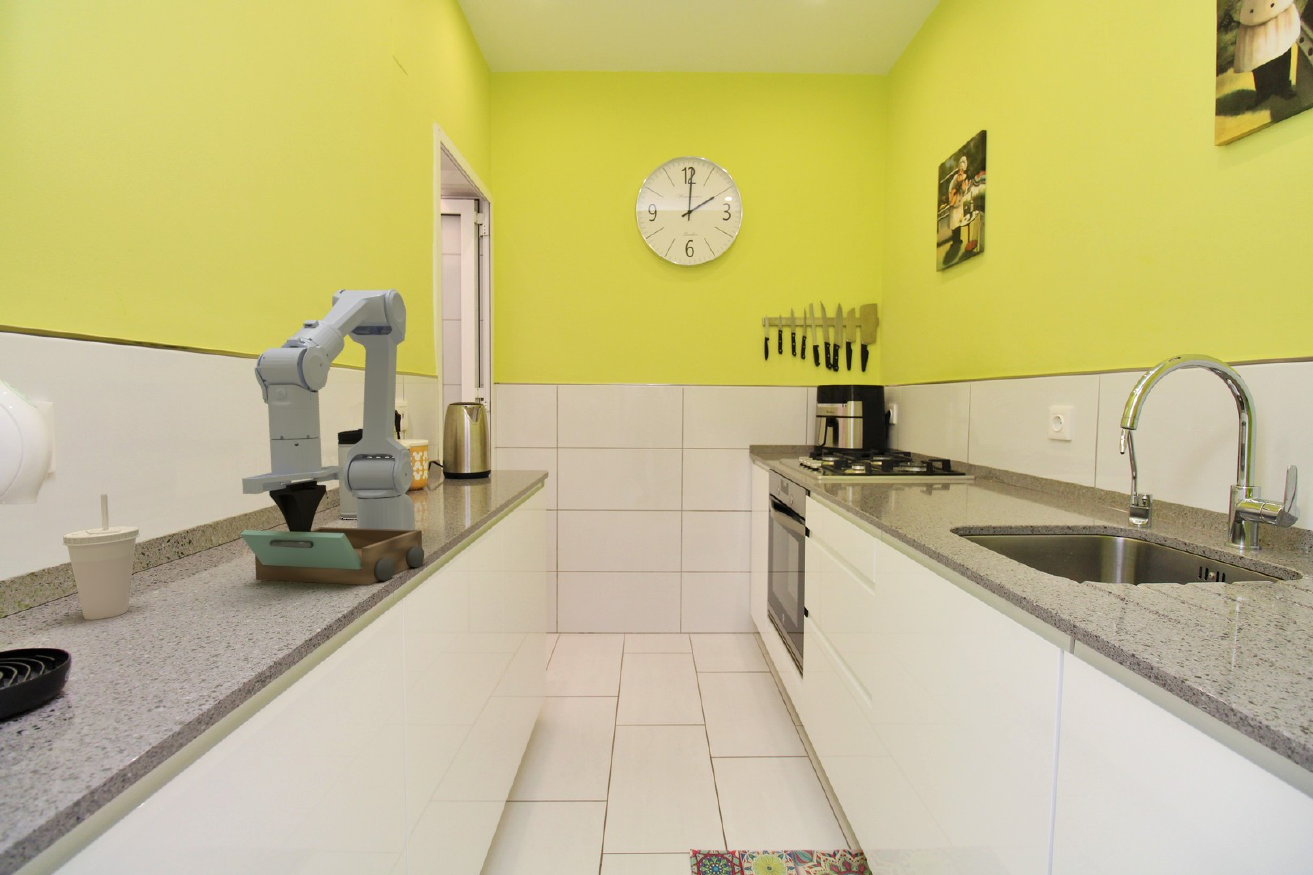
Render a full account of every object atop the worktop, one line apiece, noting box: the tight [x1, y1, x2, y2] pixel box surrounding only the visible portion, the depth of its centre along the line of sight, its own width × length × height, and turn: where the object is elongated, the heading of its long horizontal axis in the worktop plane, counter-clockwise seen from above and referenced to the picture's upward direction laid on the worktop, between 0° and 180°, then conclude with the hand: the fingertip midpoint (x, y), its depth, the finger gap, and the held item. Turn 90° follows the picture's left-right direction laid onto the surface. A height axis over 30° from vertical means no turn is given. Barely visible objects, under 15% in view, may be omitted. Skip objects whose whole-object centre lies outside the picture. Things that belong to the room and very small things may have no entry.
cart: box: [254, 526, 425, 586], centre depth 84 cm, size 12×20×5 cm, turn 79°
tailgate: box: [239, 529, 362, 570], centre depth 77 cm, size 2×15×6 cm
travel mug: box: [337, 428, 371, 518], centre depth 129 cm, size 6×7×20 cm
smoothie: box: [62, 493, 140, 621], centre depth 66 cm, size 6×6×14 cm
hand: (300, 539), depth 77 cm, fingers closed, pressing on tailgate
